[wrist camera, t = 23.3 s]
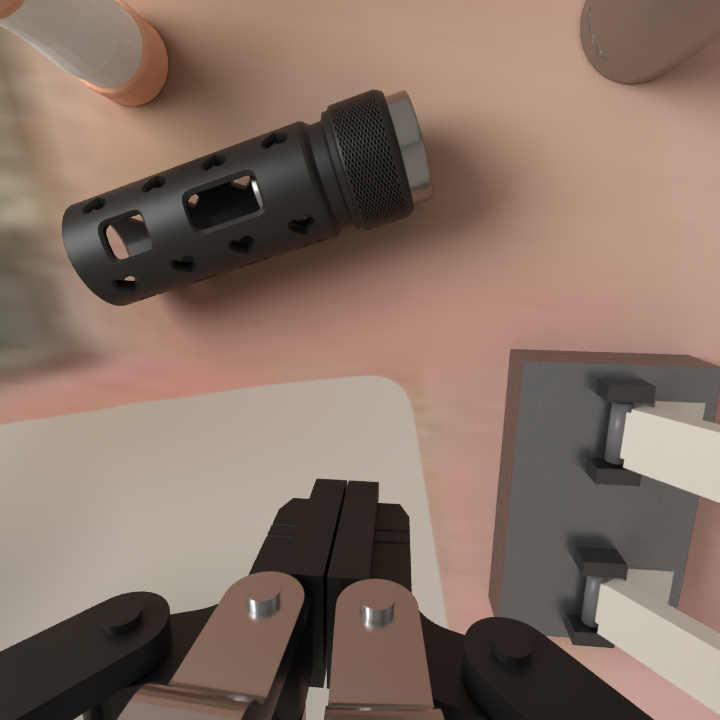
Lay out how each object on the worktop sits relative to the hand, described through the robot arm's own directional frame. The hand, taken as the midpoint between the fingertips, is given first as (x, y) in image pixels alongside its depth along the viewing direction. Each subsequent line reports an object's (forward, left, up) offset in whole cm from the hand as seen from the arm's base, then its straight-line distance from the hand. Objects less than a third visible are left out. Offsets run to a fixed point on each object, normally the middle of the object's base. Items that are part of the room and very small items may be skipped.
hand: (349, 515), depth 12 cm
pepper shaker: (+12, -30, -35) cm, 48 cm away
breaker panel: (-11, +23, -35) cm, 43 cm away
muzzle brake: (+6, -14, -35) cm, 38 cm away
